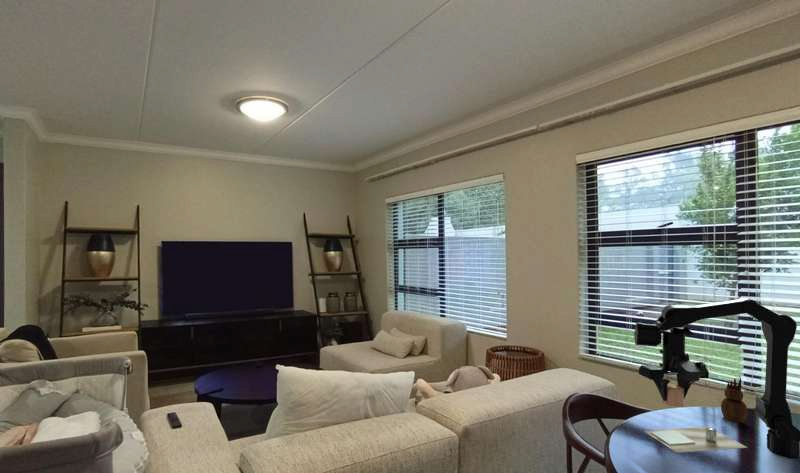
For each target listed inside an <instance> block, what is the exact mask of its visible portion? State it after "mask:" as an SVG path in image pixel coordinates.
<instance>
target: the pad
mask: <svg viewBox="0 0 800 473" xmlns="http://www.w3.org/2000/svg"><path fill="white" fill-rule="evenodd" d="M651 434H652V435H654V436H656V437H657V438H659V439H660V440H662V441H663V442H665V443H666V444H668V445H669V446H673V445H687V444H695V442H694V441H692V440H691V439H689V438H687V437H685V436H684V435H682V434H680V433H679V432H677V431H675V430H672V431H656V432H651Z"/></svg>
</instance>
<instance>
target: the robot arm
mask: <svg viewBox="0 0 800 473" xmlns="http://www.w3.org/2000/svg"><path fill="white" fill-rule="evenodd" d="M660 313H661V315H660V316H659V317H658V318H657V319H656V321H654V323H653V324H652V323H643V322H636V323H635V328H634V332H633V339H634V344H635V346H640V347H641V346H642V347H643V346H644V347H652V348H653V347H654V348H657V347H658V346H660V345H661V344H662V349H661V348H660V349H659V353H660V354H662V362H659V364H658V365H659V367H661V368H659V367H657V366H655V365H653V364H645V365H644V364H641V365H640V366H639V368H638V375H640V376H642V377H644V378H647V379H648V380H651V381H653V383H654V384H655V386H656V388H657V390H658V392H659V394H660V397H661V398H662V401H663V400H664V401H667V385H668V384H670V383H671V380H670V379H668V376H676V381H677V382H676V383H677V385H679V386H682V387H683V388H684V400H685V398H686V397H687V394H688V391H689V389H690V388H691V387H692V384H694V383H696V382H699V381H700V379H709V378H710V372H709V370H708V368H707V364H706V363H704V361H696V362H695V361H691V360H690V355H689V353H687V352H686V336H694V332H692V330H690V329H689V327H688V325H691V324H694V323H696V322H697V321H701V320H707V319H714V318H723V317H728V316H737V315H744V314H745V315H746V314H747V315H749V316H750V317H752V318H754V319H755V320H757V321H759V322H760V326H761V330H762V334H763V336H764V339H765V342H766V358H765V376H764V377H765V382H764V384H765V385H764V393H763V394H762V396H761V397H758V396H756V397H755V398H754V399H755V407H754V411H755V412H756V413H757V416H758V417H759V419H760V420H761V421H762V422H763V423H764V424H765V426H766V427H767V428H768V429H767V433H766V448H768V450H769V451H770V452H771V453H773V454H775V455H777V456H779V457H784V458H786V459H789V460H794V459H800V430H799V429H798V428H797V427H796V426H795V425H794V424H793V416H792V412H791V408H790V406H789V402H788V399H787V382H788V381H787V380H788V359H789V347H790V346H791V344H792V342H793V341H794V340H795V335H796V332H797V328H798V327H797V326H798V325H797V322H796V320H795V319H794V318H792V316H789V315H787V314H784V313H781V312H779V311H775V310H774V311H772V310H771V309H769V308H766V307H764V306H763V305H762V304H760V303H758V302H757V301H756V300H753V299H750V298H748V297H741V298H739V299H733V300H726V301H718V302H711V303H704V304H698V305H690V304H689V305H687V304H668V305H665V306H664V307H663V308H662V310H661V312H660Z"/></svg>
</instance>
